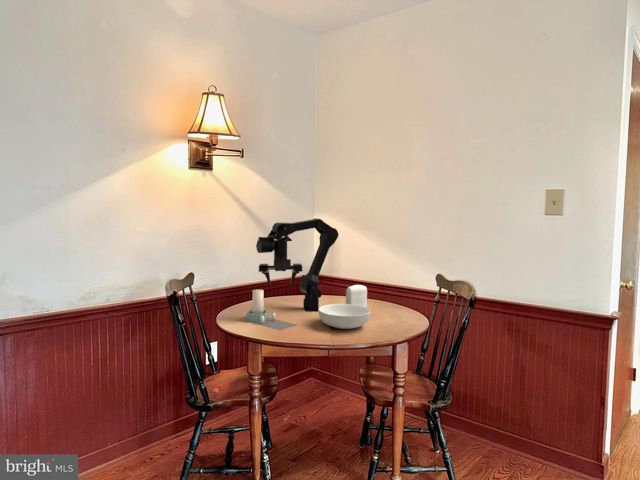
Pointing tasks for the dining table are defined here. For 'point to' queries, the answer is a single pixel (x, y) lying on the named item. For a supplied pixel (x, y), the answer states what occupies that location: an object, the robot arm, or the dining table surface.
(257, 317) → the end holder
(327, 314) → the serving bowl
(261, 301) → the white cylinder
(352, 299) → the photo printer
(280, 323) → the board
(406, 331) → the dining table surface
